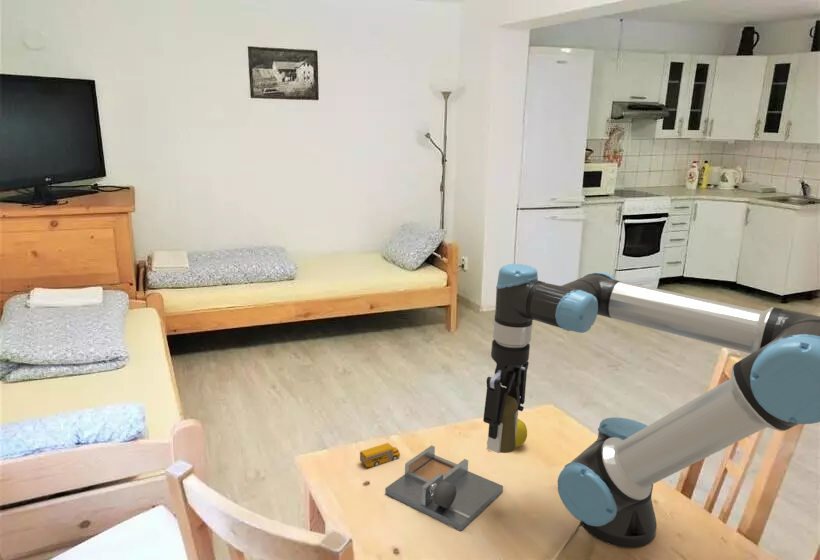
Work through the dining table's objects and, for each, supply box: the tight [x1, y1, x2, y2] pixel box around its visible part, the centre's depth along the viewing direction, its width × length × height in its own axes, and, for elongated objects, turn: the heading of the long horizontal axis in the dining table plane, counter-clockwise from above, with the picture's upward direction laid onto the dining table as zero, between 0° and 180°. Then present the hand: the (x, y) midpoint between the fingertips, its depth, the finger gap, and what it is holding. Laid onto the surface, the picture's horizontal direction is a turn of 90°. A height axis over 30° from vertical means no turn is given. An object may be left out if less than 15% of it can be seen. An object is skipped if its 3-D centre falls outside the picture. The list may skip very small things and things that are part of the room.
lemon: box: [515, 418, 528, 448], centre depth 155 cm, size 6×6×8 cm
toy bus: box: [359, 442, 401, 468], centre depth 148 cm, size 3×10×4 cm, turn 123°
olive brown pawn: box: [486, 395, 518, 454], centre depth 126 cm, size 6×6×11 cm
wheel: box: [434, 481, 456, 508], centre depth 129 cm, size 3×5×5 cm, turn 143°
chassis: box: [384, 445, 504, 532], centre depth 135 cm, size 20×18×6 cm
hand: (501, 443), depth 128 cm, fingers closed on olive brown pawn, 6 cm apart
